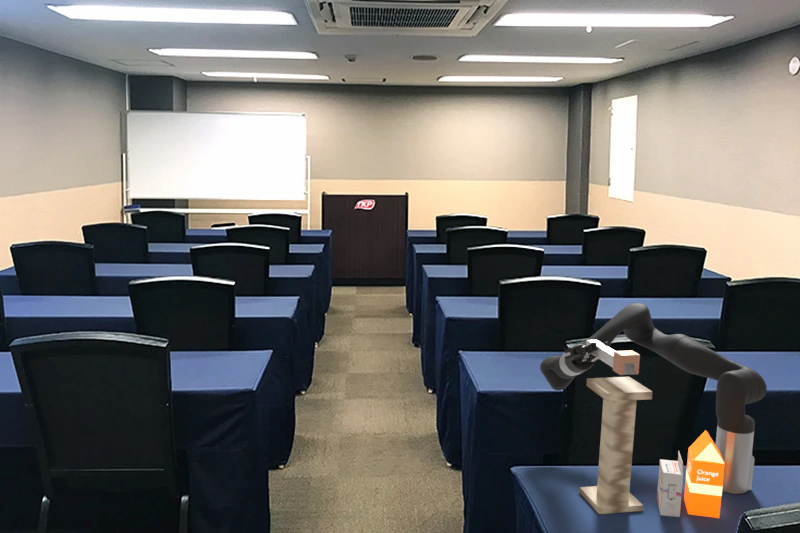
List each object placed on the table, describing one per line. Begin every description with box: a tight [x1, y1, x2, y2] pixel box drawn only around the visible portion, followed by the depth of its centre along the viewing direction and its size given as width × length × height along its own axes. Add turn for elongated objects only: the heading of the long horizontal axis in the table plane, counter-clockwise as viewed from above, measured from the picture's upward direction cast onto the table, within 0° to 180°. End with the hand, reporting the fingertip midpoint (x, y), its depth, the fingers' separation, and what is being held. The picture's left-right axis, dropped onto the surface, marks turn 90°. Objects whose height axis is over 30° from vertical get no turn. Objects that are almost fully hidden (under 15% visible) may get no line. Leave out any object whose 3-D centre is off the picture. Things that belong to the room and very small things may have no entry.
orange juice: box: [683, 429, 725, 519], centre depth 195 cm, size 8×9×20 cm
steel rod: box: [585, 339, 641, 376], centre depth 199 cm, size 5×22×5 cm, turn 11°
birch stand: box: [578, 376, 653, 515], centre depth 197 cm, size 12×12×32 cm
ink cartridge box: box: [656, 450, 684, 518], centre depth 195 cm, size 9×5×15 cm, turn 168°
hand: (601, 345), depth 204 cm, fingers closed on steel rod, 3 cm apart
